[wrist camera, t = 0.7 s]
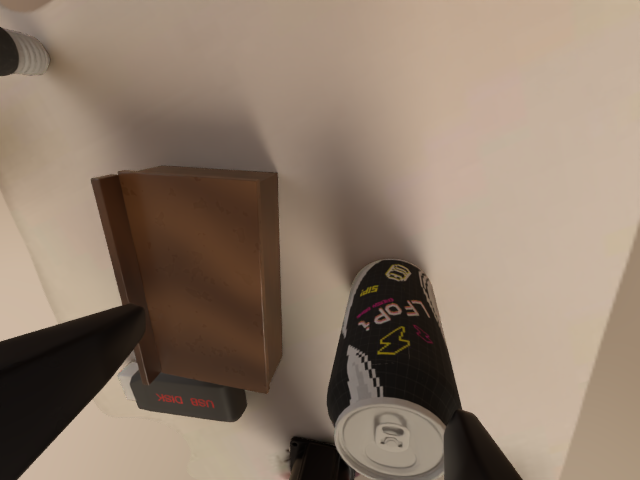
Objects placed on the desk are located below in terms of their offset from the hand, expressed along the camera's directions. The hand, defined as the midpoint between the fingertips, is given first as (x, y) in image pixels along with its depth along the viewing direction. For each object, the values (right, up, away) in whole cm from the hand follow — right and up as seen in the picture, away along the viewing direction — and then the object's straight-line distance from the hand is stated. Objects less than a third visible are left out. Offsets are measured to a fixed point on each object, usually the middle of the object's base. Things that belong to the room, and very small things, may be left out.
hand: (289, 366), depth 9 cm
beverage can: (+6, 0, +14) cm, 16 cm away
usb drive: (-12, -10, +23) cm, 28 cm away
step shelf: (-7, +1, +17) cm, 18 cm away
